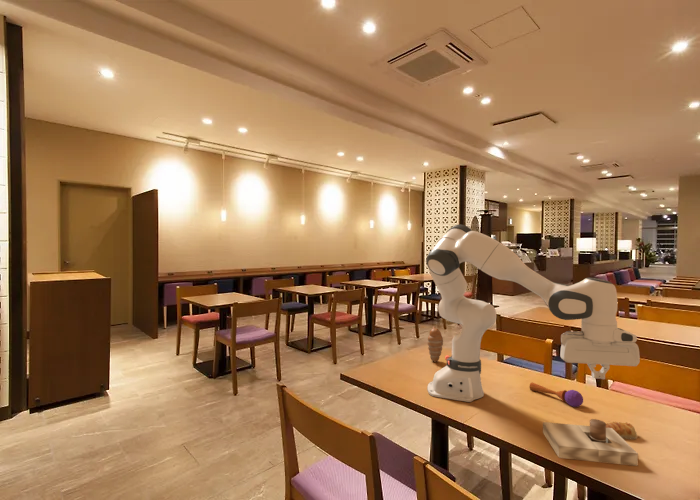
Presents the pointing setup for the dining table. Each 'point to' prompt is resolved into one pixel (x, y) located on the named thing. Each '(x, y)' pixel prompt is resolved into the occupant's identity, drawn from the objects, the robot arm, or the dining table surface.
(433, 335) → the brown ribbed tapered oval
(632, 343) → the robot arm
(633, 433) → the pastry
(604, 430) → the peg
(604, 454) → the seat board
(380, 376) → the dining table surface
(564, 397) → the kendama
